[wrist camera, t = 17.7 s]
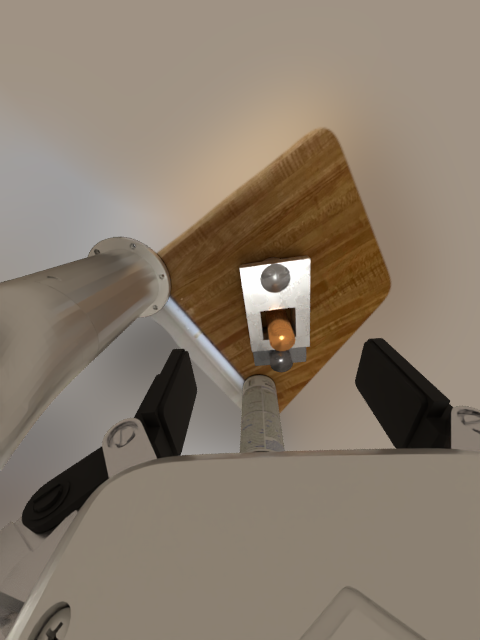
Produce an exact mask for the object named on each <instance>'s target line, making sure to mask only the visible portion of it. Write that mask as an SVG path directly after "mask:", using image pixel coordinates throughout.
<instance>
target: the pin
mask: <svg viewBox="0 0 480 640" xmlns="http://www.w3.org/2000/svg"><path fill="white" fill-rule="evenodd" d="M266 322H267V328H268V335H269V341H270V345H271V347H272V348H273V349H275V350H277V351H286V350H289V349H290V348H292V347H293V345H294V344H295V336H294V333H293V330H292V327H291V325H290V322H289V319H288V316H287V313H286V311H285V309H276V310H267V311H266Z"/></svg>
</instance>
